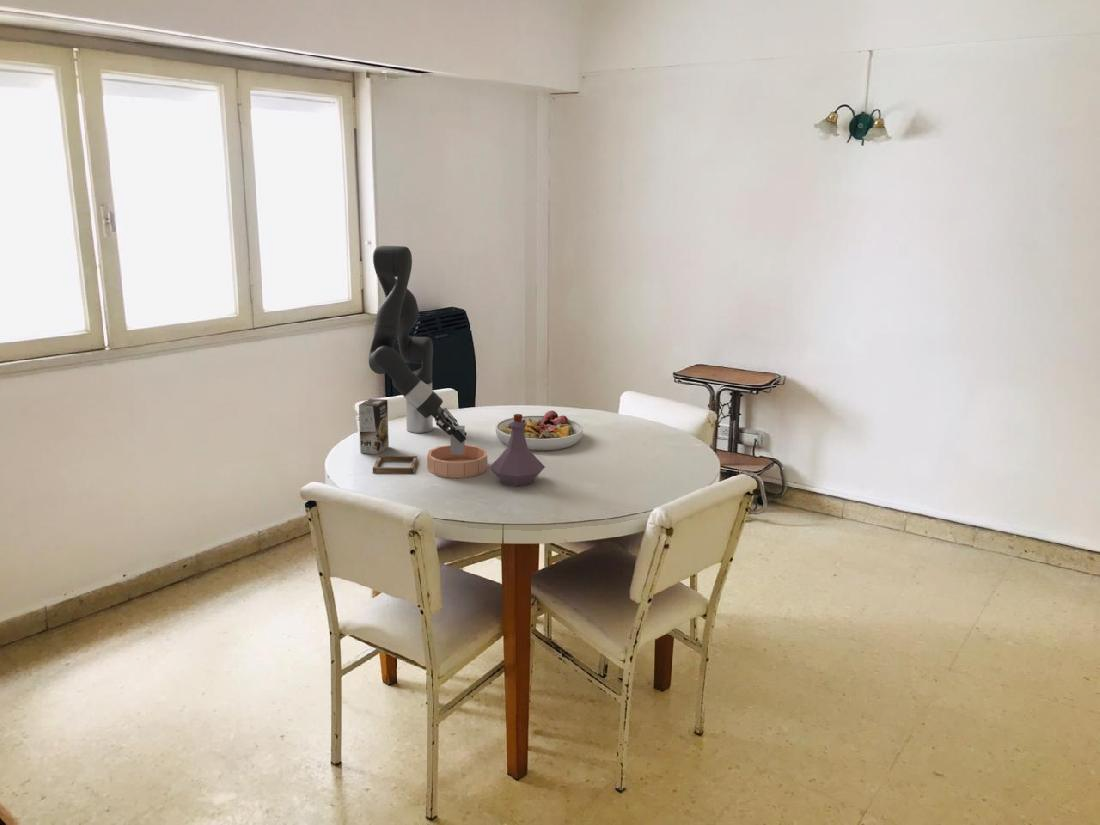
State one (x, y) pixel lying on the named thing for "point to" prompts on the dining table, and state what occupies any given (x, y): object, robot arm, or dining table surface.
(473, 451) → the bowl
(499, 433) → the bowl
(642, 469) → the dining table surface
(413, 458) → the tray frame
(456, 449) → the block
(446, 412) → the robot arm
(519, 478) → the flask
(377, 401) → the coffee box
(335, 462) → the dining table surface
